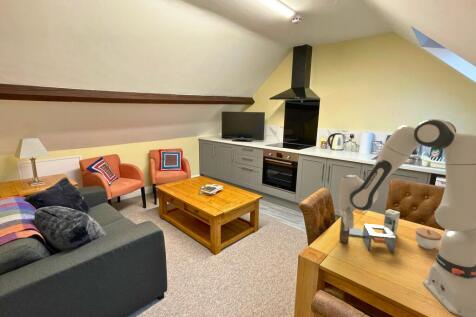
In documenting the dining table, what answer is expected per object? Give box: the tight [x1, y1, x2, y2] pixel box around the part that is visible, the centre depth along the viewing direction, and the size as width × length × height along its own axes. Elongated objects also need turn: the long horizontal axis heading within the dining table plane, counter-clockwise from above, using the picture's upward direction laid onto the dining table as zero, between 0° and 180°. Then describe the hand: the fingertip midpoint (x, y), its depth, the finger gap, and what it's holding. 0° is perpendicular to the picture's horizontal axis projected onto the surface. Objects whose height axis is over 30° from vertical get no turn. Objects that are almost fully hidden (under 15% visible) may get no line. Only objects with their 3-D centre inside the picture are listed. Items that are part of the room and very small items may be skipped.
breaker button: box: [372, 237, 386, 245], centre depth 127 cm, size 5×5×2 cm
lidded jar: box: [414, 227, 442, 250], centre depth 126 cm, size 11×11×9 cm
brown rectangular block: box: [338, 214, 350, 243], centre depth 130 cm, size 4×4×14 cm
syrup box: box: [381, 208, 401, 236], centre depth 137 cm, size 6×6×14 cm
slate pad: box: [349, 227, 363, 238], centre depth 140 cm, size 8×8×1 cm
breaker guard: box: [361, 223, 397, 255], centre depth 127 cm, size 12×12×9 cm
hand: (344, 227), depth 130 cm, fingers closed on brown rectangular block, 4 cm apart
